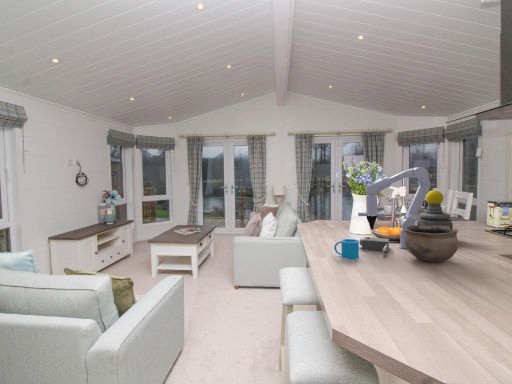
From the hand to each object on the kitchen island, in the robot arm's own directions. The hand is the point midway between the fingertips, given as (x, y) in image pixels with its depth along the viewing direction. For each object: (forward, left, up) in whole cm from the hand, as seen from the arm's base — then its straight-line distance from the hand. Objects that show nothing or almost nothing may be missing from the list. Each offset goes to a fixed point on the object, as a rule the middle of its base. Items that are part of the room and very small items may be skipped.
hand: (371, 229), depth 177 cm
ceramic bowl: (-28, +21, -10) cm, 36 cm away
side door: (-8, +17, -9) cm, 21 cm away
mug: (+9, +28, -10) cm, 31 cm away
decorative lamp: (-32, -27, -10) cm, 43 cm away
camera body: (-2, +6, -9) cm, 11 cm away
